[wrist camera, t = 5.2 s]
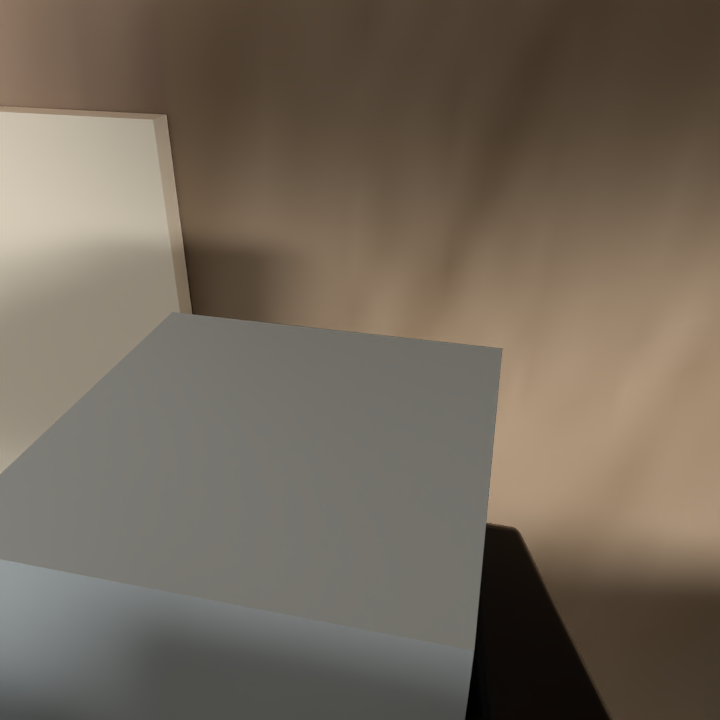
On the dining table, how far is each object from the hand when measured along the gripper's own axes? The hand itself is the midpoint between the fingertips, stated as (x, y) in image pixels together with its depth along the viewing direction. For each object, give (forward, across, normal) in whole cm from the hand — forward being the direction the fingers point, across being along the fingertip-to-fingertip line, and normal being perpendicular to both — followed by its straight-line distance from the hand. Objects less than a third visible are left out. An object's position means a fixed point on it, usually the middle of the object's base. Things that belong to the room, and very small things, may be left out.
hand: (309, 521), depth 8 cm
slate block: (+1, 0, 0) cm, 1 cm away
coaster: (+6, +9, +1) cm, 11 cm away
